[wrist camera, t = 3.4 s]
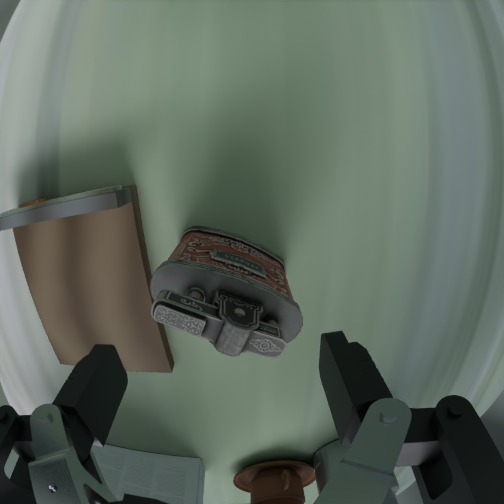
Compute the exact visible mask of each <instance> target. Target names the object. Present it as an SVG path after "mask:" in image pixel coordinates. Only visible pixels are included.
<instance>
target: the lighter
mask: <svg viewBox="0 0 504 504" xmlns="http://www.w3.org/2000/svg"><path fill="white" fill-rule="evenodd" d="M150 291H151V295H152V297H153V299H154V303H153V305H152V309H151V315H152V317H153V318H154V319H155V320H156V321H158V322H160V323H162V324H165V325H168V326H170V327H173V328H176V329H179V330H181V331H184V332H187V333H190V334H193V335H196V336H199V337H202V338H205V339H208V340H209V341H210V342H211V343H212V344H213V345H214V347H215V348H216V349H217V350H218V351H219V352H221V353H223V354H226V355H229V356H238V355H240V354H241V353H245V352H249V353H253V354H256V355H260V356H264V357H267V358H273V359H274V358H278V357H280V356H281V355H282V354H283V352H284V350H285V348H286V343H288V342H290V341H291V340H293V339H294V338H295V337H296V336H297V335H298V334H299V332H300V331H301V328H302V325H303V317H302V314H301V311H300V308H299V306H298V304H297V303H296V302H295V301H294V300H293V297H292V294H291V291H290V288H289V285H288V282H287V279H286V268H285V265H284V262H283V260H282V259H281V258H280V257H279V256H278V255H276V254H275V253H273V252H271V251H270V250H268V249H266V248H265V247H263V246H262V245H260V244H257V243H255V242H253V241H251V240H249V239H246V238H244V237H242V236H239V235H236V234H233V233H229V232H226V231H223V230H219V229H213V228H208V227H202V226H192V227H190V228H188V229H187V230H186V231H185V232H184V233H183V234H182V236H181V237H180V239H179V242H178V246H177V247H176V248H175V250H174V251H173V253H172V254H171V256H170V257H169V258H168V260H167V261H165V262H163V263H162V264H161V265H160V266H159V267H158V268H157V270H156V271H155V273H154V274H153V277H152V279H151V283H150Z"/></svg>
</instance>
